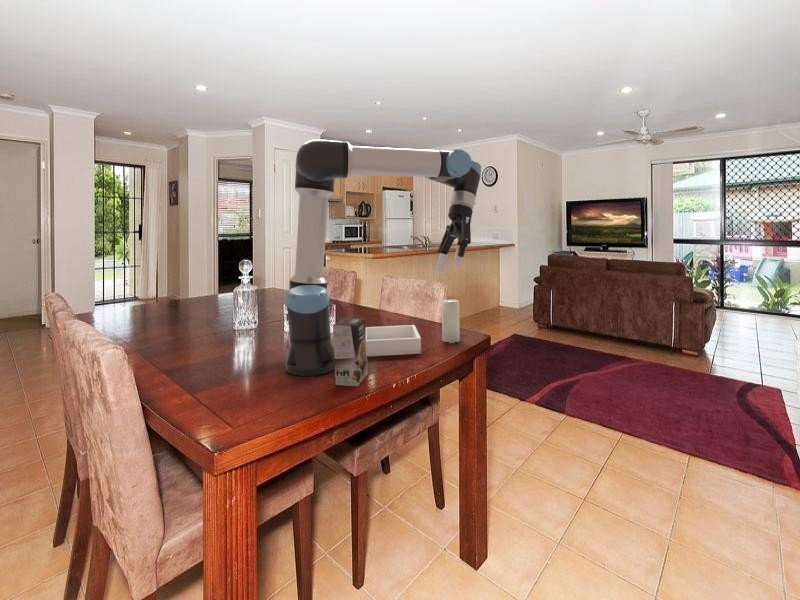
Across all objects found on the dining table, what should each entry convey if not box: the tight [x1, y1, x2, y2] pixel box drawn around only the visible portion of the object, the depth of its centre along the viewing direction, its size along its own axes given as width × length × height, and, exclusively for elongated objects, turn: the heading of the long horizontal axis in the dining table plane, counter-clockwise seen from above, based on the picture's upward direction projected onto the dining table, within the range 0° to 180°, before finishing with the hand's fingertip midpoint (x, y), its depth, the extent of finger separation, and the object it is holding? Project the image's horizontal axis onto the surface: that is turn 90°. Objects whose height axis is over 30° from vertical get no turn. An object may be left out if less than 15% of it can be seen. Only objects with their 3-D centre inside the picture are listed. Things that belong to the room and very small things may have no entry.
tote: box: [365, 324, 422, 357], centre depth 144 cm, size 18×18×5 cm
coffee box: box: [332, 317, 369, 387], centre depth 114 cm, size 9×6×16 cm
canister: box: [441, 299, 461, 344], centre depth 149 cm, size 6×6×14 cm
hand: (448, 270), depth 138 cm, fingers open, 13 cm apart
